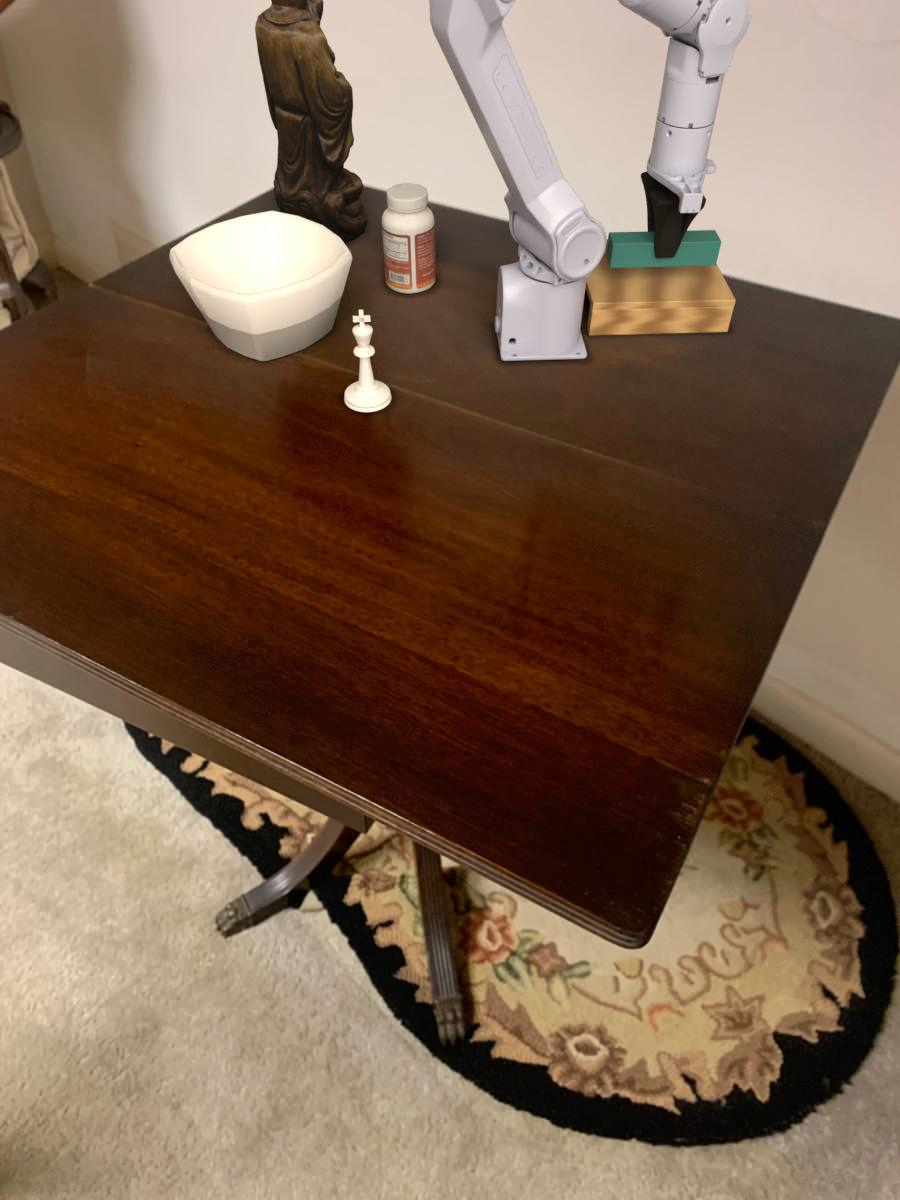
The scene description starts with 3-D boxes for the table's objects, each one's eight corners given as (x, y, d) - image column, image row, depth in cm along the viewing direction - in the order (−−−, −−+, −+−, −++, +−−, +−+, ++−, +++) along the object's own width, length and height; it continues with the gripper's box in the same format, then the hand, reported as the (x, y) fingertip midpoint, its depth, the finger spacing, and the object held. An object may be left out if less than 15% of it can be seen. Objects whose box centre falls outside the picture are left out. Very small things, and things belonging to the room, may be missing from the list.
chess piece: (344, 386, 94) (335, 298, 86) (390, 383, 94) (385, 296, 87) (344, 413, 90) (335, 325, 83) (392, 411, 91) (387, 323, 83)
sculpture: (387, 233, 119) (391, -38, 98) (321, 260, 112) (310, -26, 91) (319, 207, 124) (310, -56, 103) (252, 231, 117) (227, -47, 96)
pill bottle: (430, 268, 111) (428, 177, 103) (440, 292, 107) (439, 200, 99) (381, 273, 110) (375, 182, 102) (389, 298, 106) (385, 205, 98)
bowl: (382, 330, 101) (377, 251, 94) (255, 393, 93) (240, 311, 86) (286, 275, 110) (276, 199, 103) (162, 328, 101) (141, 249, 94)
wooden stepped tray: (588, 335, 101) (595, 290, 96) (573, 283, 109) (578, 239, 104) (727, 332, 101) (739, 287, 97) (701, 280, 109) (711, 236, 105)
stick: (609, 268, 98) (613, 243, 96) (605, 256, 100) (608, 232, 98) (716, 265, 99) (721, 241, 97) (709, 253, 101) (715, 229, 99)
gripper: (745, 146, 84) (713, 280, 94) (707, 92, 94) (681, 219, 104) (671, 147, 84) (647, 282, 94) (641, 93, 93) (622, 220, 103)
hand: (661, 249), depth 99 cm, fingers closed on stick, 3 cm apart
